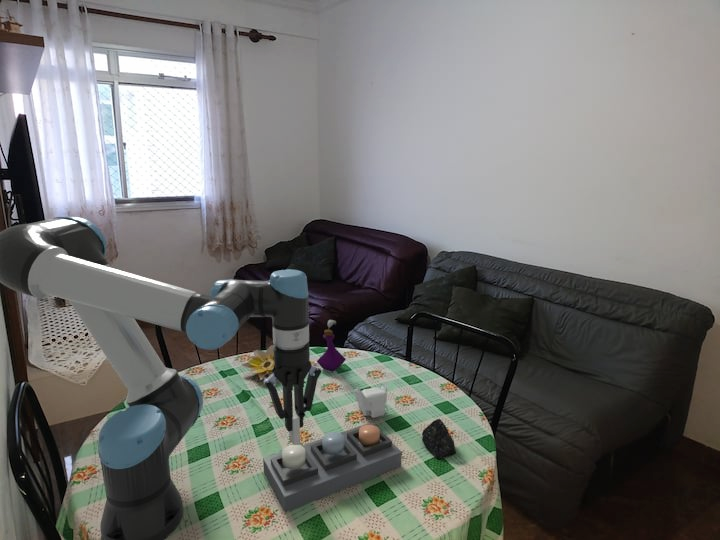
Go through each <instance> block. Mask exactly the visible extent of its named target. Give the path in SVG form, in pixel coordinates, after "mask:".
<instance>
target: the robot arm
mask: <svg viewBox="0 0 720 540" xmlns="http://www.w3.org/2000/svg"><path fill="white" fill-rule="evenodd" d="M107 248H108V242H107V239H106V236H105V234H104V233H103V232H102V230H101V229H100V228H99V227H98V226H97V225H96V224H95V223H94V222H92V221H90V220H88V219H86V218H82V217H78V216H56V217H54V218H51V219H50V218H49V219H44V220H40V221H36V222H35V221H34V222H30V223H22V224H17V225H16V224H15V225H13V226H9V227H6V229H3V230H1V231H0V283H1V285H3V286H5V287H7V288H9V289H11V290H13V291H14V292H17V293H20V294H23V295H25V296H31V297H33V298H37V299H47V298H48V299H49V298H50V297H56V298H59V299H63V300H67V301H68V302H69V304H70V305H71V306H72V308H73V309H74V311H75V313H76V314H77V315H78V317H79V318H80V320H81V322H82V323H83V324H84V326H85V328H86V329H87V330H88V332H89V333H90V335H91V336H92V338H93V339H94V341H95V343H96V345H98V347H99V349H100V350H101V352H102V353H103V355H104V356H105V358H106V360H107V361H108V362H109V363H110V365H111V366H112V369H113V370H114V371H115V373H116V374H117V376H118V377H119V379H120V380H121V382H122V383H123V384H124V386H125V388H126V389H127V394H126V395H127V396H126V398H125V402H126V404H127V406H128V407H126V408H125V410H119V411H117V412H116V413H114V414H113V415H112V416H110V417H109V418H108V419H107V420H106V421H105V422H104V424H103V425H102V427H101V428H100V430H99V433H98V450H97V453H98V456H99V459H100V464H101V465H100V466H101V471H102V477H103V479H102V480H103V483H104V490H105V496H106V501H105V504H104V507H103V508H104V509H103V512H102V516H101V520H100V526H99V527H100V528H99V529H100V536H101V539H102V540H165V539H166V538H168V537H169V536H170V535H171V534H172V533H173V532H174V531H175V530H176V529H177V527H178V526H179V525H180V523H181V521H182V519H183V516H184V515H183V514H184V504H183V498H182V495H181V493H180V492H179V490H178V489H177V487H176V485H175V484H174V482H173V480H172V479H171V478H172V477H171V468H170V456H171V454H172V453H173V452H174V450H175V449H176V448H177V446H178V445H179V444H180V443H181V441H182V440H183V439H184V437H185V436H186V435H187V434H188V432H189V431H190V429H191V428H192V427H193V426H194V425H195V424H196V422H197V420H198V418H199V417H200V414H201V413H202V410H203V407H204V397H203V396H204V395H203V393H202V390H201V388H200V387H199V385H198V384H197V382H195V381H194V380H193V379H192V378H187V376H185V375H179V373H178V371H177V370H176V369H174V368H169V367H166V366H165V365H164V363H163V361H162V360H161V359H160V356H159V355H158V353H157V352H156V350H155V348H154V347H153V346H152V344H151V343H150V341H149V339H148V338H147V336H146V334H145V333H144V332H143V329H142V328H141V327H140V326H139V323H138V322H137V321H136V320H139V321H142V322H145V323H149V324H154V325H155V326H156V325H157V326H161V327H164V328H168V329H171V330H175V331H179V332H182V333H184V334H185V333H186V335H187V338H188V339H189V341H190V342H191V343H193V344H194V345H195V346H196V347H197V348H198V349H202V350H206V351H211V350H217V349H220V348H221V347H223V346H224V345H225V344H227V343H228V342H229V341H231V340H232V339H233V337H235V335H236V333H237V332H238V331H239V329H240V328H241V327H242V326H243V325H244V324H245V323H246V322H247V321H248V320H249V319H250V318H271V320H272V321H271V324H272V325H271V326H272V343H273V345H274V346H273V350H274V368H273V370H272V374H271V375H270V376H268V377H267V376H265V377H264V378H263V379H261V380H262V383H263V384H264V385H265V387H266V388H267V390H268V392H269V396H270V399H271V401H272V406H273V408H274V412H275V413H276V415H277V416H278V418H279V419H280V420H283V419H284V426H285V429H286V431H287V432H288V434H289V436H288V437H289V440H290V441H291V442H290V443H292V445H300V444H301V428H303V427H304V418H305V417H306V412H310V411H312V408H313V402H314V397H315V393H316V388H317V383H318V379H319V378H320V376H321V374H322V369H321V368H320V367H318V366H317V364H312V362H311V361H310V358H311V357H310V343H309V342H310V323H309V295H310V294H309V293H310V292H309V288H308V277H307V275H306V273H305V272H304V271H301V270H298V269H288V268H287V269H281V270H275V271H273V272H272V273H271V274H270V277H269V280H250V279H248V280H247V279H245V280H243V279H235V278H231V279H219V280H217V281H215V282H214V283H213V285H212V288H211V289H210V291H209V292H210V293H209V295H208V294H205V293H201V292H197V291H194V290H191V289H186V288H183V287H180V286H176V285H173V284H170V283H166V282H164V281H163V282H162V281H159V280H155V279H152V278H148V277H144V276H142V275H138V274H135V273H131V272H128V271H125V270H121V269H118V268H114V267H110V263H109V262H108V261H107V259H106V255H107V252H108V251H107ZM306 377H307V378H306ZM305 379H306V383H305ZM276 380H278V381H279V382H280V383H281V386H282V399H283V401H282V402H281V399H280V396H279V393H278V389H277V388H276V385H277V381H276ZM293 395H294V396H293ZM293 399H294V403H293ZM282 403H283V405H282ZM293 404H294V409H293Z"/></svg>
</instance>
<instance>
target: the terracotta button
mask: <svg viewBox="0 0 720 540" xmlns="http://www.w3.org/2000/svg"><path fill="white" fill-rule="evenodd" d="M363 425H364V426H362V425H361V426H362V427H361V428H360V429H359V442H360V443H361V444H362V445H364V446H372V445H375V444H377V443H379V441H380V430H381V429H380V428H379V427H378V426H377V425H376V426H377V427H376V426H374V425H365V424H363ZM379 429H380V430H379Z"/></svg>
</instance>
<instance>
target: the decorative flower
mask: <svg viewBox="0 0 720 540" xmlns="http://www.w3.org/2000/svg"><path fill="white" fill-rule="evenodd" d="M274 345H275V344H271V345H270V346H269V347H267V349H266V351H264V350H259V349H255V351H254V352H253V356H251V357H250V358H249V360H248V361H247V362H244V363H242V364H240V366H241V367H244V368H247V369H249V372H250V373H254V374H258V377H259V380H260V381H261V380H262V379H263V378H264V377H267V376H268V377H269V376H270V375H271V374H272V370H273V368H274V350H273V346H274ZM266 375H267V376H266Z"/></svg>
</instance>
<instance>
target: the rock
mask: <svg viewBox="0 0 720 540" xmlns="http://www.w3.org/2000/svg"><path fill="white" fill-rule="evenodd" d="M446 426H447V425H445V423H444V422H443V421H442V419H440V418H436V419H435V420H433V421H432V422H431V423H429V424H428V425H427V427H425V428H424V430H423V431H422V433H421V436H422V437H421V441H422V443H423V445H424V447H425V448H426V449H427V450H428V451H429V452H430V453H431V454H432V456H433V457H434V459H436V460H437V461H441V460H442V459H444V458H445V459H446V458H448V457H449V458H450V457H452V456H454V455H456V454H457V450H456V446H455V442H454V440H453V438H452V436H451V434H450V433H449V430H448V428H447V427H446Z"/></svg>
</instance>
